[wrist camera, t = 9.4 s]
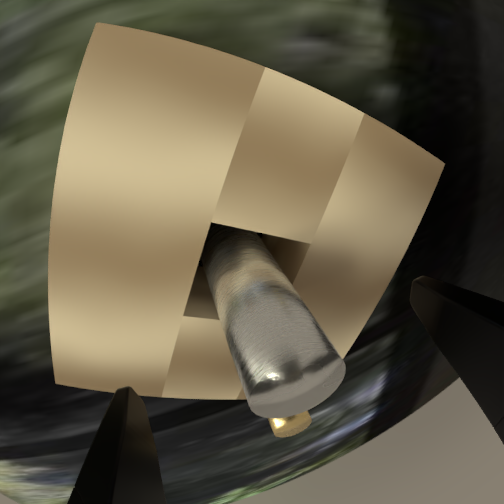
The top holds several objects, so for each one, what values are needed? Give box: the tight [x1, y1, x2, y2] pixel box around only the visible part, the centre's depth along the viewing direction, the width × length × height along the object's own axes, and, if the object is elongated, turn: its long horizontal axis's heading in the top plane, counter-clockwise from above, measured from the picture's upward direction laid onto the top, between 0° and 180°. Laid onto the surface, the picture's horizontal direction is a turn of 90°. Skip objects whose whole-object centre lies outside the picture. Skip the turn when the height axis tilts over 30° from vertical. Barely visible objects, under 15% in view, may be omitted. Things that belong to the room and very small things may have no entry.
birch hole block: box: [48, 23, 445, 399], centre depth 13 cm, size 14×14×4 cm
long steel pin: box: [200, 222, 346, 418], centre depth 11 cm, size 3×3×9 cm
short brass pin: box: [268, 411, 312, 437], centre depth 20 cm, size 3×3×4 cm
